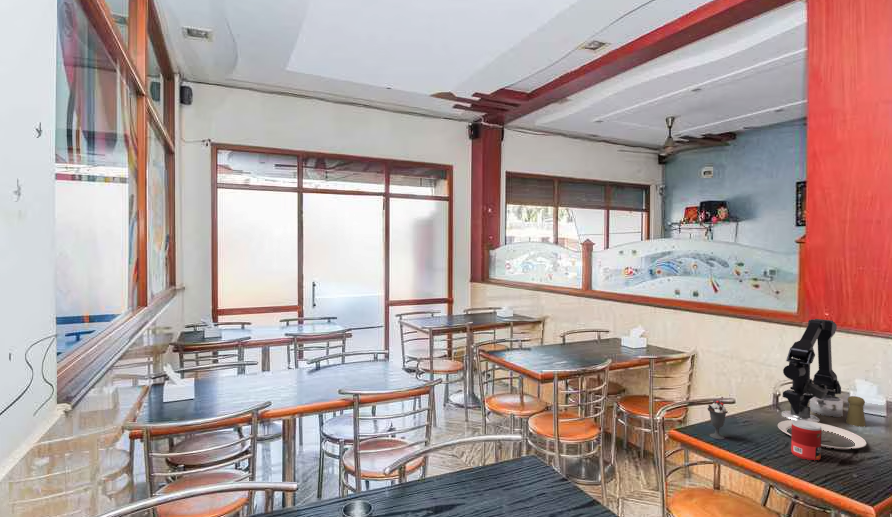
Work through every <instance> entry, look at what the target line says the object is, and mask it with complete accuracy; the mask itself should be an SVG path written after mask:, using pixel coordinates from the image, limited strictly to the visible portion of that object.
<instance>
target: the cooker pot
mask: <svg viewBox="0 0 892 517" xmlns="http://www.w3.org/2000/svg"><path fill="white" fill-rule="evenodd" d="M811 395H812V394H811ZM809 407H810V412H811V413H814V414H816V413H817V415H820V414H821V415H820V416H824V415H826V416H825V417H830V416H833V417H832V418H841V416H842V417H843V416H844V414H843V413H844V399H843V398H841V397H838V396H836V395H835V396H832V395H825V397H824V398H822V399H819V398H817V397H816V396H815V397H813V398H811V399H810V401H809Z"/></svg>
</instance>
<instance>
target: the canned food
mask: <svg viewBox="0 0 892 517" xmlns="http://www.w3.org/2000/svg"><path fill="white" fill-rule="evenodd" d="M790 430H791V431H790V432H791V433H790V434H791V436H790V437H791V438H790V440H791V441H790V451H791V454H792V455H793V456H795V457H796V456H797V458H799V459H802V460H805V459H807V460H806V461H810V460H814V461H813V462H816V461H815V460H818V461H820V460H821V456H822V447H821V444H822V435H823V434H822V432H823V430H822V429H821V426H820V425H818V424H816V423H813V422H809V421H804V420H793V421H792V426H791V429H790Z"/></svg>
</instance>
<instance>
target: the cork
mask: <svg viewBox="0 0 892 517" xmlns="http://www.w3.org/2000/svg"><path fill="white" fill-rule="evenodd" d="M847 403H848V404H849V405H848V409H847V414H846V419H845V423H846V424H847V425H851V426H853V425H854V427H859V426H860V427H861V428H864V426H865V427H867V425H866V419H865V411H864V406H865V404H866V402H865V399H864V398H863V397H860V396H856V395H850V396H848V397H847ZM860 427H859V428H860Z"/></svg>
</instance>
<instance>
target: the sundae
mask: <svg viewBox="0 0 892 517" xmlns="http://www.w3.org/2000/svg"><path fill="white" fill-rule="evenodd" d="M723 398H724V396H721V398H720V399H719V400H716V401H715V402H713V403H711V404H708V405H707V406H708V407H707V411H708V412H709V416H710V417H709V418H710V422H711V425H712V426H713V427H714V428H715V431H714V433H709V437H710V438H712V439H715V440H720V441H721V440H725V439H726V437H725V436H724V435H721V434H720V429H721V428H722V427H724V424H725V420H726V415H727V414H728V413H729V411H728V410H727V409H726V407H725V404H724V402H720V401H722V399H723Z"/></svg>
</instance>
